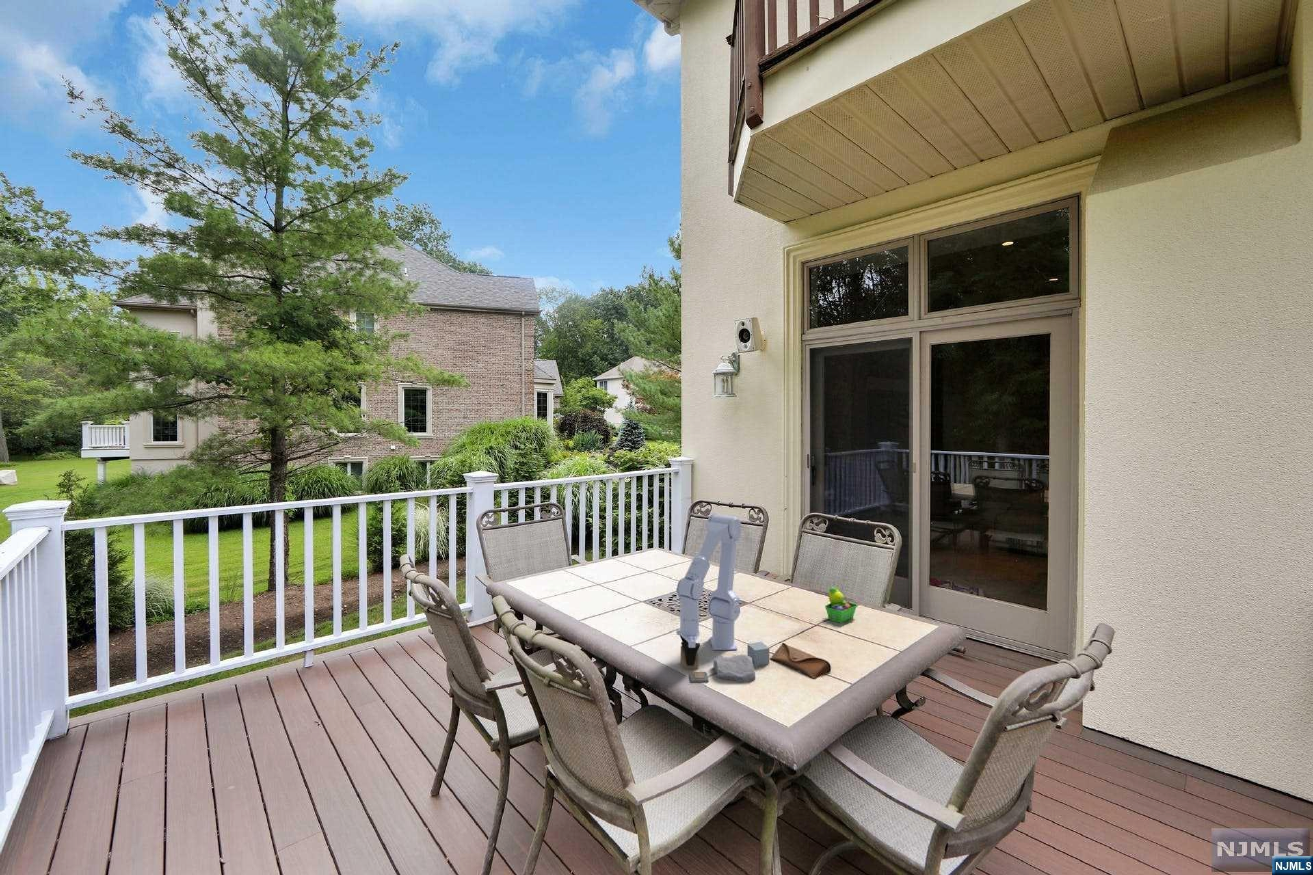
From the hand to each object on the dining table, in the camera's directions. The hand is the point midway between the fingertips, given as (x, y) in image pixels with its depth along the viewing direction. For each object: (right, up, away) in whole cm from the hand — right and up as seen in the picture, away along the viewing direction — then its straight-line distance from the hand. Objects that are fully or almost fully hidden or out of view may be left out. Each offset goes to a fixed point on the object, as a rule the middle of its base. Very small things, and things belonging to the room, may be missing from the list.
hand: (689, 660), depth 161 cm
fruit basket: (+60, -1, +40) cm, 72 cm away
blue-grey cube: (+22, -2, +3) cm, 22 cm away
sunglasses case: (+34, -2, +1) cm, 34 cm away
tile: (+2, -2, -8) cm, 8 cm away
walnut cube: (0, -1, 0) cm, 1 cm away
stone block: (+13, -2, -5) cm, 14 cm away
